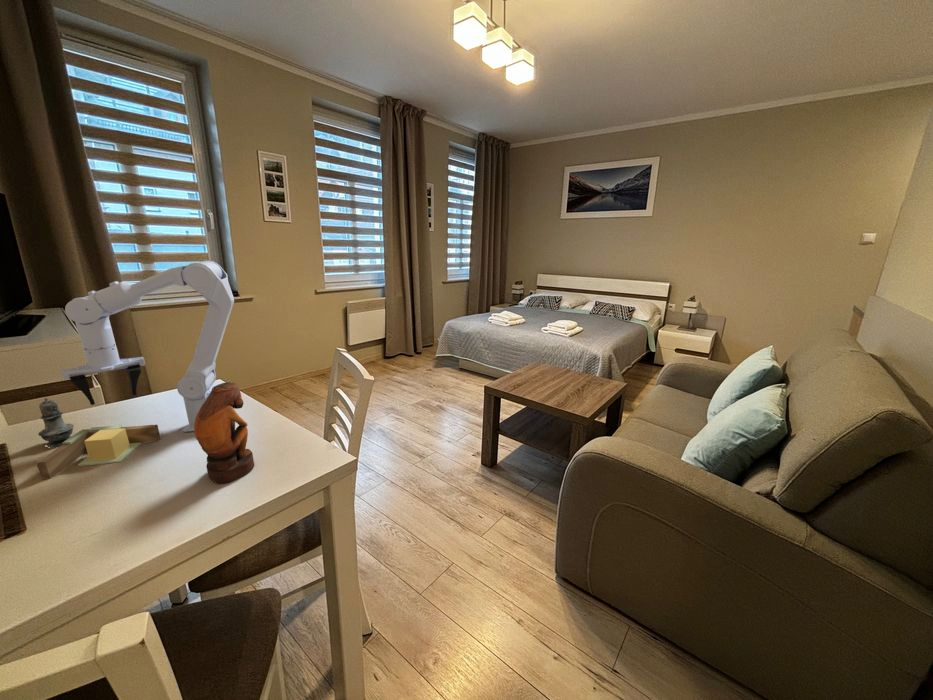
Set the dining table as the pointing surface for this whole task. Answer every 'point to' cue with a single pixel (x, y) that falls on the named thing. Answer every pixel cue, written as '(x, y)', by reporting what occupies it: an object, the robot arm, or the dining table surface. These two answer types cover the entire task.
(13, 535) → the dining table surface
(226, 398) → the figurine
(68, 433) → the grey stone finial
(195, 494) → the dining table surface
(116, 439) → the ochre block
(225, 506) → the dining table surface
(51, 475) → the walnut walls
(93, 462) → the sage pad
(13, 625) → the dining table surface
